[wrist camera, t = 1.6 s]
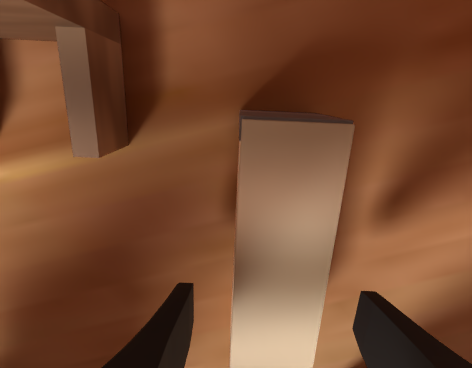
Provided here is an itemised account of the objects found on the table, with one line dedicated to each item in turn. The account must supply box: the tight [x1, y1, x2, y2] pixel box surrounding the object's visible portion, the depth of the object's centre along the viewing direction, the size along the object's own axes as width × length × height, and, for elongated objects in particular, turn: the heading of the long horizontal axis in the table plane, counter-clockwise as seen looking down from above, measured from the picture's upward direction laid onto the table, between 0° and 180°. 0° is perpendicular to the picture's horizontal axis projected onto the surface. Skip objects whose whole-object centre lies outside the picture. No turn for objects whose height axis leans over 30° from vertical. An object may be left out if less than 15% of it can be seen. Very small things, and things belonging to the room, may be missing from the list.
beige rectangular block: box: [230, 110, 355, 368], centre depth 13 cm, size 12×4×5 cm, turn 178°
